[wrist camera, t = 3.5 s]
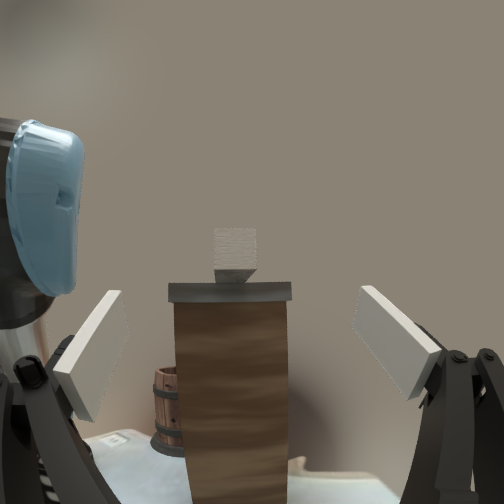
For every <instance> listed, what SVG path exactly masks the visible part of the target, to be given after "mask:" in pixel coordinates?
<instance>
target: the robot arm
mask: <svg viewBox="0 0 504 504" xmlns="http://www.w3.org/2000/svg"><path fill="white" fill-rule="evenodd" d="M84 156H85V153H84V147H83V144H82V142H81V140H80V139H79V138H78V137H77V136H76V135H75V134H74V133H72V132H69V131H66V130H62V129H58V128H53V127H50V126H45V125H43V124H42V123H40V122H39V121H37V120H31V119H30V120H28V121H22V120H15V119H8V118H0V504H45V502H44V497H43V492H42V487H41V481H40V474H39V467H38V458H37V448H38V451H39V454H40V457H41V460H42V462H43V465H44V467H45V470H46V473H47V475H48V477H49V480H50V482H51V484H52V486H53V489H54V491H55V493H56V495H57V497H58V499H59V501H60V503H61V504H121V503H120V501H119V500H118V499H117V497H116V496H115V494H114V493H113V492H112V490H111V489H110V487H109V486H108V484H107V483H106V481H105V479H104V478H103V476H102V475H101V473H100V471H99V470H98V468H97V466H96V465H95V463H94V461H93V459H92V458H91V456H90V454H89V452H88V450H87V448H86V447H85V445H84V443H83V441H82V439H81V437H80V435H79V433H78V431H77V428H76V426H75V424H74V422H73V420H72V418H73V410H74V412H75V414H76V415H77V417H78V419H80V420H85V421H89V422H95V419H96V416H97V414H98V411H99V408H100V405H101V403H102V400H103V397H104V395H105V392H106V389H107V387H108V385H109V382H110V380H111V377H112V375H113V372H114V370H115V367H116V365H117V362H118V360H119V358H120V355H121V353H122V351H123V348H124V346H125V344H126V341H127V339H128V337H129V335H130V332H129V328H128V323H127V318H126V313H125V308H124V303H123V297H122V291H116V290H109V291H108V292H107V293H106V295H105V296H104V297H103V298H102V300H101V301H100V302H99V304H98V305H97V307H96V308H95V309H94V310H93V312H92V313H91V314H90V316H89V318H88V319H87V320H86V321H85V323H84V324H83V326H82V327H81V328H80V330H79V331H78V333H77V334H76V335H69V336H68V337H67V338H65V339H64V340H63V341H62V342H61V343H60V345H59V346H58V349H56V350H55V352H54V354H53V355H52V356H51V355H50V347H49V338H48V328H47V316H46V313H47V311H48V310H49V309H50V308H51V306H52V305H53V303H54V301H55V299H56V297H58V296H59V295H61V294H69V293H70V292H72V291H73V290H74V287H75V285H76V266H77V237H78V215H79V207H80V196H81V186H82V177H83V168H84V158H85V157H84ZM352 328H353V329H354V330H355V332H356V333H357V334H358V336H359V337H360V338H361V339H362V341H363V342H364V343H365V345H366V346H367V347H368V349H369V350H370V351H371V353H372V354H373V355H374V357H375V358H376V359H377V361H378V362H379V363H380V365H381V366H382V367H383V369H384V370H385V371H386V373H387V374H388V375H389V377H390V378H391V380H392V381H393V382H394V384H395V385H396V386H397V388H398V389H399V391H400V392H401V393H402V395H403V396H404V398H405V399H406V400H407V401H408V400H410V399H413V398H416V397H419V395H420V394H421V392H422V390H423V388H424V387H425V388H426V389H427V391H428V392H427V394H426V395H425V397H424V399H423V401H422V402H421V404H420V406H419V408H421V407H422V405H424V407H423V414H422V420H421V426H420V431H419V436H418V441H417V445H416V450H415V454H414V458H413V462H412V466H411V470H410V473H409V477H408V480H407V483H406V486H405V489H404V492H403V495H402V498H401V501H400V504H504V366H503V364H502V362H501V360H500V359H499V357H498V355H497V354H496V353H495V352H494V351H493V350H490V349H486V348H483V349H481V350H480V351H479V353H478V355H477V357H476V358H468V357H467V356H466V354H464V353H462V352H460V351H457V350H451V351H448V350H447V349H446V348H445V347H444V346H442V345H441V344H440V343H439V342H438V341H437V340H436V339H435V338H433V336H432V335H431V334H429V333H428V332H427V331H426V330H425V329H424V328H423V327H422V326H420V325H418V324H416V323H414V322H412V321H411V320H410V319H409V318H408V317H406V316H405V315H404V314H403V313H402V312H401V311H400V310H399V309H398V308H396V307H395V306H394V305H393V304H392V303H391V302H390V301H388V299H386V298H385V297H384V296H383V295H382V294H381V293H379V292H378V291H377V290H376V289H375V288H374V287H373V286H360V291H359V296H358V301H357V306H356V311H355V315H354V320H353V324H352ZM484 386H485V388H486V392H485V394H484V395H483V396H482V393H481V391H482V390H483V388H484ZM36 445H37V446H36ZM472 469H473V474H474V483H475V492H473V491H471V489H470V486H471V478H472Z"/></svg>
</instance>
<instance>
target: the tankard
mask: <svg viewBox="0 0 504 504" xmlns="http://www.w3.org/2000/svg"><path fill="white" fill-rule="evenodd" d="M153 392H154V395H155V396H154V397H155V410H156V411H155V412H156V419H155V426H156V429H157V432H156V433H155V434H154V437H152V439H151V441H150V444H151V446H152V448H153V449H154V450H156V451H157V452H159V453H161V454H164V455H167V456H172V457H185V453H184V446H183V438H182V430H181V421H180V411H179V401H178V389H177V375H176V366H175V367H164V368H160V369H156V371H155V381H154V384H153Z"/></svg>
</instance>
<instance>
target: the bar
mask: <svg viewBox="0 0 504 504" xmlns="http://www.w3.org/2000/svg"><path fill="white" fill-rule="evenodd" d="M256 270H257V258H256V229H255V228H214V271H215V281H216V283H245V282H246V281H247V279H248V278H249V277H250V276H251V275H252V274H253V273H254V272H255V271H256Z"/></svg>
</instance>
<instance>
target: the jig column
mask: <svg viewBox="0 0 504 504" xmlns="http://www.w3.org/2000/svg"><path fill="white" fill-rule="evenodd" d="M290 300H292V293H291V282H260V283H169V285H168V302H172V303H174V335H175V358H176V375H177V389H178V401H179V411H180V421H181V430H182V438H183V446H184V453H185V460H186V467H187V473H188V479H189V485H190V490H191V496H192V501H193V504H286V503H287V475H288V344H287V343H288V342H287V309H286V301H290Z"/></svg>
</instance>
